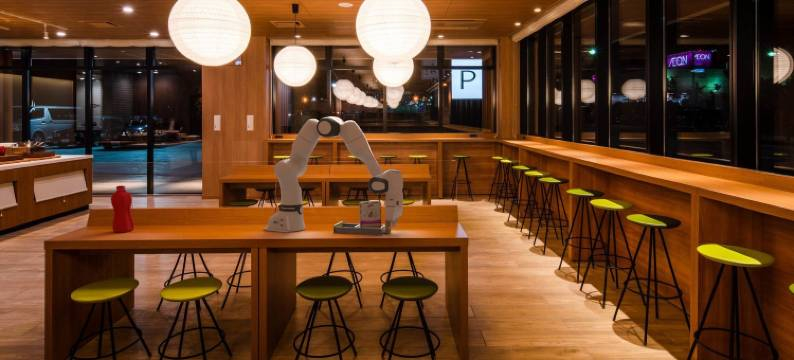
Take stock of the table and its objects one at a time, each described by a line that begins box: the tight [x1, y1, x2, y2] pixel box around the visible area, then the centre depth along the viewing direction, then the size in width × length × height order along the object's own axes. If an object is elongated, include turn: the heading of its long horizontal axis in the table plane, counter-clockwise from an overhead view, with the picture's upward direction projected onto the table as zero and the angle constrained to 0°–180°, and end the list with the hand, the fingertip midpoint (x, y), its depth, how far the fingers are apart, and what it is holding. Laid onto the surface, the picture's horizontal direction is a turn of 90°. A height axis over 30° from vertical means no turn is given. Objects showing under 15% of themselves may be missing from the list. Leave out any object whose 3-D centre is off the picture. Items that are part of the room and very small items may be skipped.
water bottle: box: [110, 185, 135, 233], centre depth 286 cm, size 9×11×25 cm
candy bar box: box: [358, 200, 382, 228], centre depth 282 cm, size 11×5×16 cm, turn 101°
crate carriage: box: [355, 219, 392, 234], centre depth 282 cm, size 18×9×7 cm, turn 74°
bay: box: [333, 220, 383, 236], centre depth 284 cm, size 27×12×4 cm, turn 74°
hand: (394, 226), depth 278 cm, fingers closed
